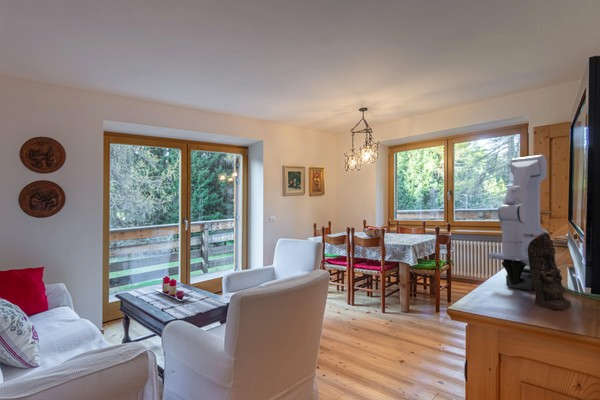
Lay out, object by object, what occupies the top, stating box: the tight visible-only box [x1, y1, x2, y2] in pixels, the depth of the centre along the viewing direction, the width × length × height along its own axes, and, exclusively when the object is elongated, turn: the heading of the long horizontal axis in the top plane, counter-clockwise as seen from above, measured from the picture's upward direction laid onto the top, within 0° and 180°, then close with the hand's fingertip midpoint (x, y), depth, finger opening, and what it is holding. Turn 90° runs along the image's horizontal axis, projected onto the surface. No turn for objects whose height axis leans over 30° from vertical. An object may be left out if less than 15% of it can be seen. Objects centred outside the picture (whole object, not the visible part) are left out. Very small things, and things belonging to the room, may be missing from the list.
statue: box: [528, 232, 572, 311], centre depth 86 cm, size 7×7×20 cm
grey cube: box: [521, 270, 531, 279], centre depth 105 cm, size 4×4×4 cm
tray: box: [505, 274, 535, 291], centre depth 104 cm, size 11×7×4 cm, turn 121°
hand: (515, 284), depth 101 cm, fingers closed
